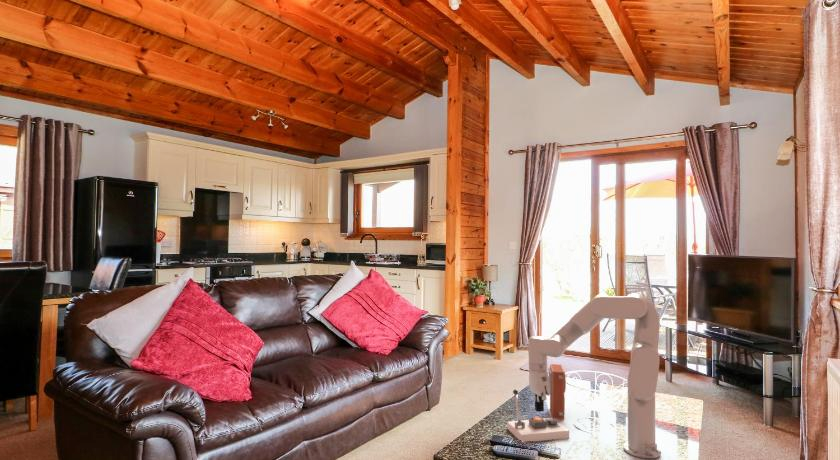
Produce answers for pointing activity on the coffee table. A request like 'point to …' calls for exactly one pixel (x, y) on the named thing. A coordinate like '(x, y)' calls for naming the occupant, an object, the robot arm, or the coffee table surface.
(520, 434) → the switch board
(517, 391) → the toggle lever
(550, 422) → the rocker switch
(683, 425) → the coffee table surface
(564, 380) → the control panel
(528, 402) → the coffee table surface
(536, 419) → the push button
